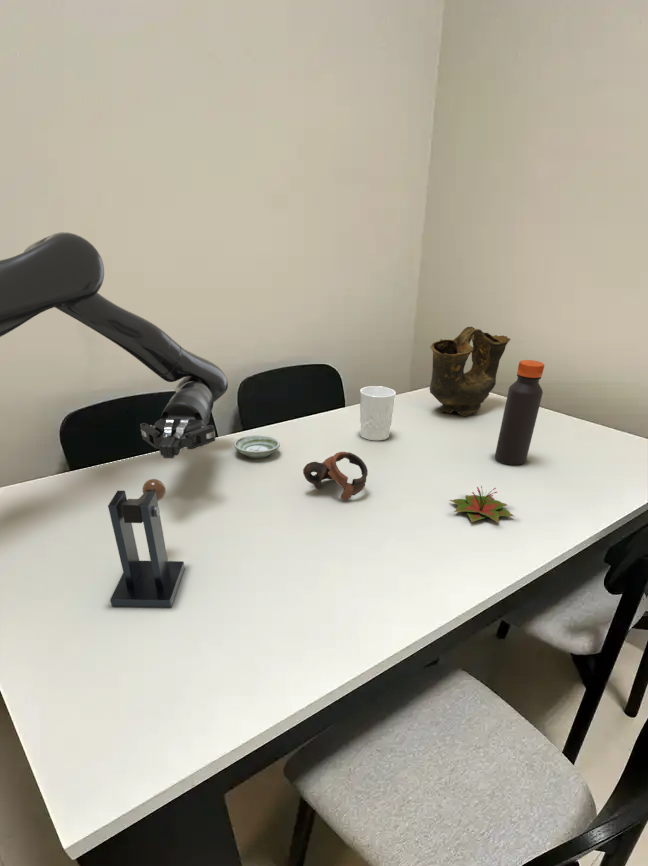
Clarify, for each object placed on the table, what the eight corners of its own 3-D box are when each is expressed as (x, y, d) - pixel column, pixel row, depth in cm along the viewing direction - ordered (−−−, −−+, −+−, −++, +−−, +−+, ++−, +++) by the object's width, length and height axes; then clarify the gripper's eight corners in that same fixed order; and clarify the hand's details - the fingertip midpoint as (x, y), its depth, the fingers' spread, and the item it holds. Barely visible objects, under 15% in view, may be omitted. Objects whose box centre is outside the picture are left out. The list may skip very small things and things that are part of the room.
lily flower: (437, 500, 110) (440, 477, 107) (492, 493, 113) (497, 471, 110) (467, 530, 101) (472, 506, 98) (526, 522, 104) (532, 499, 101)
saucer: (282, 446, 127) (282, 435, 126) (277, 464, 120) (277, 452, 118) (238, 444, 127) (237, 433, 126) (230, 461, 119) (229, 450, 118)
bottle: (517, 468, 124) (541, 369, 111) (489, 459, 127) (508, 362, 114) (530, 459, 128) (554, 363, 116) (502, 451, 131) (523, 356, 119)
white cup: (389, 429, 138) (393, 386, 132) (393, 442, 132) (397, 397, 126) (356, 429, 138) (359, 385, 132) (359, 441, 132) (361, 396, 126)
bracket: (130, 567, 87) (111, 480, 79) (184, 568, 88) (171, 482, 79) (111, 606, 79) (88, 515, 71) (171, 607, 80) (155, 517, 71)
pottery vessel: (474, 396, 163) (488, 318, 150) (505, 407, 156) (522, 326, 144) (412, 413, 149) (422, 328, 137) (444, 425, 143) (457, 337, 131)
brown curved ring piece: (347, 477, 117) (365, 449, 111) (357, 516, 113) (377, 489, 107) (292, 469, 111) (308, 439, 105) (300, 509, 107) (317, 481, 101)
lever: (147, 497, 87) (144, 476, 85) (168, 498, 87) (166, 476, 86) (121, 525, 75) (117, 501, 74) (146, 526, 76) (142, 502, 74)
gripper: (146, 392, 103) (120, 428, 89) (222, 395, 103) (207, 430, 90) (153, 434, 107) (129, 473, 94) (225, 436, 108) (212, 476, 95)
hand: (167, 452), depth 92 cm, fingers closed
